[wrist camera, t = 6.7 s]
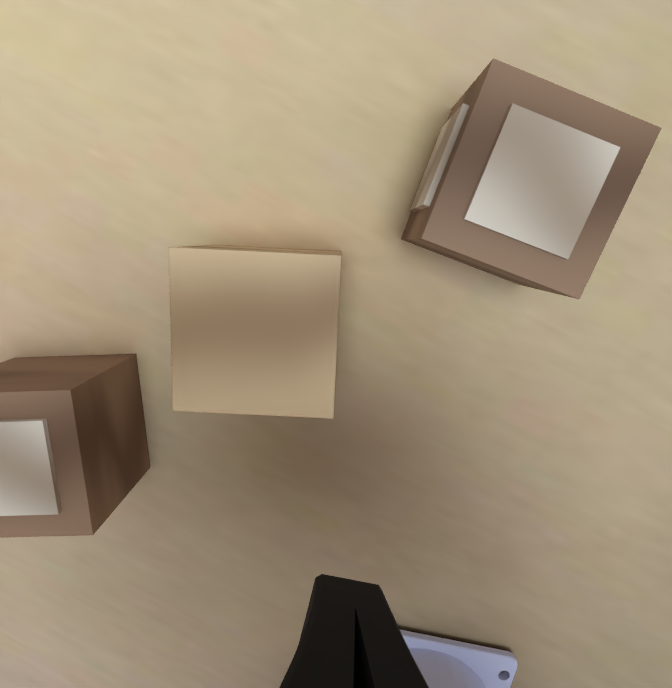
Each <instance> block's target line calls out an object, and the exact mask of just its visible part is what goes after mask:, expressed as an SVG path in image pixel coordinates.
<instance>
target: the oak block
mask: <svg viewBox="0 0 672 688" xmlns="http://www.w3.org/2000/svg"><path fill="white" fill-rule="evenodd" d="M340 272H341V251H323V250H303V249H282V248H262V247H241V246H220V245H205V246H185V247H169V277H170V316H171V355H172V395H173V411H186V412H207V413H228V414H249V415H270V416H291V417H312V418H333V415H334V395H335V374H336V354H337V333H338V313H339V292H340Z"/></svg>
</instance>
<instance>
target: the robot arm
mask: <svg viewBox="0 0 672 688" xmlns="http://www.w3.org/2000/svg"><path fill="white" fill-rule="evenodd" d="M517 667H518V663H517V660H516V658H515V656H514V654H512V653H511V652H509V651H504V650H499V649H495V648H490V647H485V646H480V645H475V644H470V643H465V642H460V641H455V640H450V639H445V638H440V637H435V636H430V635H425V634H420V633H415V632H410V631H405V630H400V629H399V627H398V625H397V623H396V621H395V619H394V616H393V614H392V612H391V610H390V608H389V605H388V603H387V601H386V598H385V596H384V594H383V591H382V590H381V588H380V586H379V585H376V584H371V583H366V582H360V581H355V580H350V579H345V578H340V577H334V576H329V575H324V574H321V575H320V576H318V577H316V578H315V582H314V586H313V590H312V594H311V598H310V602H309V606H308V610H307V614H306V618H305V622H304V626H303V630H302V634H301V638H300V642H299V645H298V648H297V650H296V653H295V655H294V658H293V660H292V662H291V664H290V666H289V669H288V671H287V673H286V675H285V677H284V679H283V681H282V684H281V686H280V688H510V687H511V684H512V681H513V679H514V676H515V673H516V670H517ZM501 671H505V672H503V673H500V672H501Z"/></svg>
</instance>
